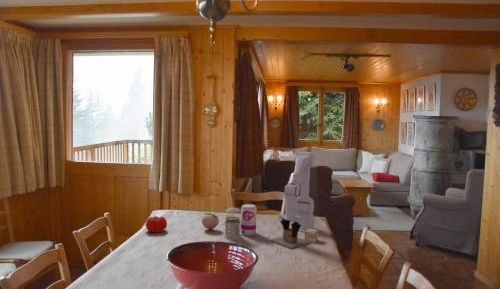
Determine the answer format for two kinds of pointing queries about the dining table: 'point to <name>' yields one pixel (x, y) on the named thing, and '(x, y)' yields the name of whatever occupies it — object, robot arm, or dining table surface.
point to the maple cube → (311, 235)
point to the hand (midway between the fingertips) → (290, 235)
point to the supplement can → (248, 219)
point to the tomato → (156, 224)
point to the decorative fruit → (210, 221)
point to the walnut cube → (289, 235)
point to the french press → (232, 224)
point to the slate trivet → (290, 244)
